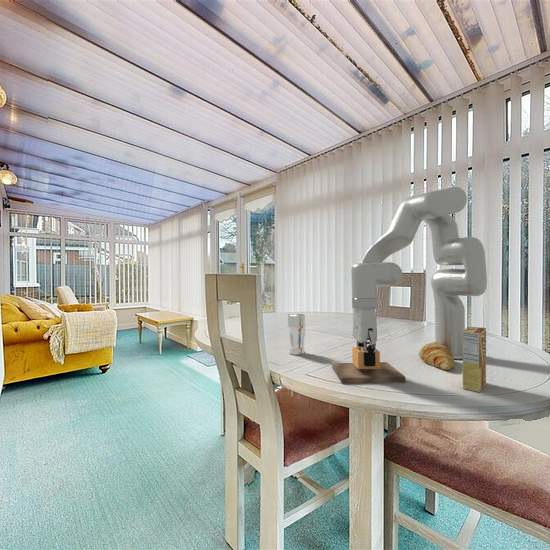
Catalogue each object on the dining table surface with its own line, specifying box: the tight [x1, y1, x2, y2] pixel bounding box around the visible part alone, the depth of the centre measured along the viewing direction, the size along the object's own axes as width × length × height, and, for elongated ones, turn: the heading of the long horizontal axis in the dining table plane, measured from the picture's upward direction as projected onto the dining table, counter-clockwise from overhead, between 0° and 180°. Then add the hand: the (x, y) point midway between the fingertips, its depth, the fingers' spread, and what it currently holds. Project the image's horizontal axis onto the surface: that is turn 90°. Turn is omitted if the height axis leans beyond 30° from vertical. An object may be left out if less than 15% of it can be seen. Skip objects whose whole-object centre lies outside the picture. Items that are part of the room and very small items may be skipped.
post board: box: [331, 346, 406, 384], centre depth 91 cm, size 18×14×8 cm
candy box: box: [462, 326, 487, 393], centre depth 81 cm, size 9×4×15 cm, turn 137°
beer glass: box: [287, 313, 306, 356], centre depth 117 cm, size 7×7×15 cm
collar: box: [351, 346, 381, 369], centre depth 91 cm, size 6×6×5 cm
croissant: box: [418, 342, 455, 371], centre depth 102 cm, size 21×10×8 cm, turn 171°
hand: (365, 361), depth 91 cm, fingers open, 6 cm apart
